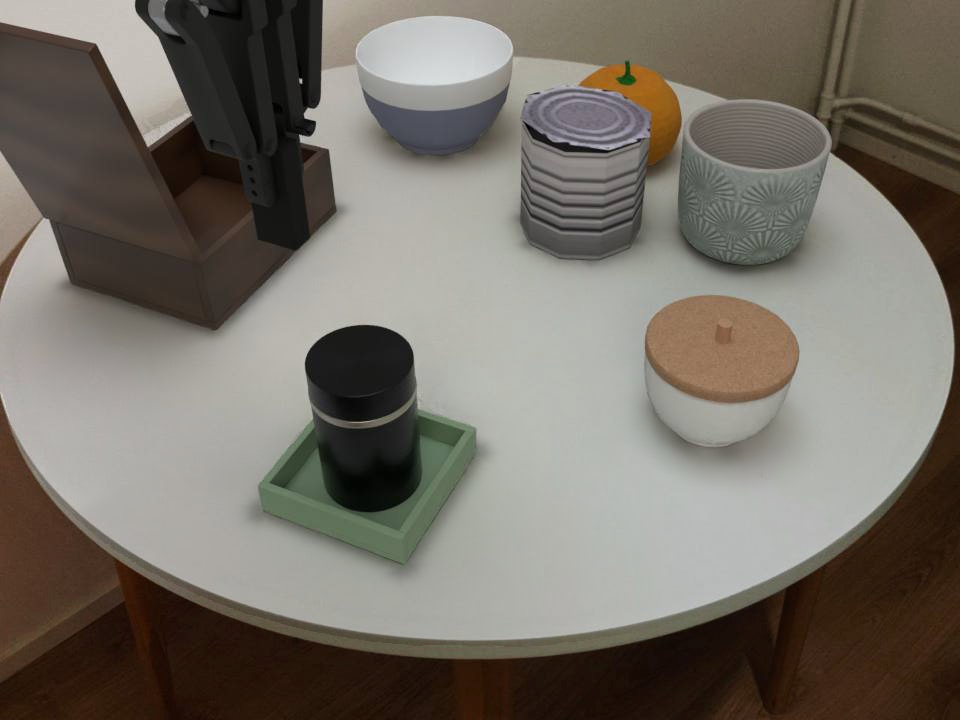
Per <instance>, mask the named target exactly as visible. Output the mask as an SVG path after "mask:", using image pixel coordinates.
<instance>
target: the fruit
mask: <svg viewBox="0 0 960 720" xmlns="http://www.w3.org/2000/svg"><path fill="white" fill-rule="evenodd" d="M577 86H581V87H588V88H595V89H602V90H609V91H616V92H618V93H620V94H622V95H623V96H625V97H627V98H628V99H630V100H631V101H633V102H635V103H636V104H638V105H639V106H641V107H643V108H644V109H646V110H648V111H649V112H651V132H650V142H649V151H648V161H647V167H650V166H652V165H654V164H657V163H658V162H660V161H661V160H662V159H664V158H665V157H666V156H667V155H669V154H670V153H671V151H672V150H673V149H674V147H675V145H676V143H677V141H678V138H679V135H680V134H681V130H682V126H683V125H682V124H683V123H682V121H683V116H682V109H681V106H680V101H679V98H678V96H677V93H675V91H674V89H673V88H672V87H671V86H670V85H669V83H667V81H666V80H665V79H664V78H663V77H662V76H661V75H660V74H658V73H657V72H655V71H654V70H652V69H650V68H647V67H645V66H641V65H635V64H631V63H630V60H625V61H624V64H623V63H621V64H612V65H606V66H603V67H601V68H599V69H597V70H595V71H594V72H592V73H591V74H589V75H587V76H586V77H585V78H584V79H583V80H581V82H580V83H579V84H578V85H577Z"/></svg>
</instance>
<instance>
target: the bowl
mask: <svg viewBox="0 0 960 720" xmlns="http://www.w3.org/2000/svg"><path fill="white" fill-rule="evenodd" d="M513 45H514V44H513V42H512V40H511V39H510V38H509V36H508V35H507V34H506V33H505V32H504V31H502V30H501V29H500V28H497V27H495V26H493V25H491V24H489V23H486V22H483V21H480V20H478V19H477V20H476V19H473V18H467V17H461V16H454V15H453V16H452V15H427V16H417V17H416V16H415V17H410V18H404V19H400V20H396V21H392V22H390V23H387V24H383V25H381V26H379V27H377V28H375V29H372V30H371V31H370V32H368V33H367V34H366V35H364V36H363V37H362V38H361V39H360V41H359V42H358V43H357V45H356V48H355V52H354V53H355V54H354V55H355V57H354V58H355V64H356V70H357V77H358V82H359V84H360V87H361V91H362V94H363V97H364V101H365V103H366V106H367V108H368V109H369V111H370V113H371V114H372V115H373V117H374V119H375V120H376V122H377V123H378V125H379V126H380V127H381V129H383V130H384V132H386V133H387V134H389V135H390V136H392V137H393V138H395V139H396V141H397V143H398V145H400V146H401V147H403V148H404V149H406V150H408V151H410V152H413V153H416V154H420V155H427V156H445V155H451V154H457V153H459V152H462V151H465V150H467V149H469V148H471V147H473V146H474V145H475V144H476V143H477V142H478V141H479V139H480V137H481V136H482V135H483V134H484V133H486V132H487V131H488V130H489V129H490V128H491V127H492V126H493V124H494V123H495V121H496V120H497V118H498V116H499V114H500V113H501V111H502V109H503V107H504V106H505V104H506V103H507V98H508V94H509V88H510V84H511V80H512V76H513V75H512V74H513V64H514V53H515V52H514V51H515V50H514V46H513Z"/></svg>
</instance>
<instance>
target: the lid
mask: <svg viewBox="0 0 960 720" xmlns="http://www.w3.org/2000/svg"><path fill="white" fill-rule="evenodd" d="M143 136H144V135H143V134H142V132H141V130H140V129H139V126H138V125H137V123H136V120H135V118H134V116H133V114H132V112H131V111H130V109H129V107H128V105H127V102H126V100H125V97H124V96H123V94H122V92H121V90H120V88H119V86H118V84H117V82H116V81H115V78H114V76H113V74H112V72H111V69H110V68H109V67H108V64H107V62H106V60H105V58H104V56H103V54H102V52H101V50H100V48H99V46H98V44H97V43H96V42H90V41H86V40H82V39H77V38H73V37H69V36H64V35H60V34H55V33H50V32H46V31H42V30H37V29H32V28H28V27H23V26H19V25H15V24H10V23H6V22H1V21H0V153H1V155H2V156H3V158H4V159H5V161H6V162H7V164H8V166H9V167H10V168H11V170H12V172H13V173H14V174H15V176H16V178H17V179H18V181H19V182H20V184H21V186H22V187H23V188H24V190H25V191H26V193H27V195H28V196H29V198H30V199H31V200H32V203H34V205H35V207H36V208H37V209H38V211H39V213H40V215H41V216H42V217H43V219H46V220H48V221H49V220H52V221H55V222H59V223H62V224H65V225H69V226H72V227H75V228H79V229H82V230H85V231H89V232H92V233H96V234H99V235H102V236H106V237H109V238H112V239H116V240H119V241H122V242H126V243H129V244H132V245H136V246H139V247H143V248H146V249H149V250H153V251H156V252H159V253H163V254H166V255H169V256H173V257H176V258H179V259H183V260H186V261H190V262H193V263H197V262H198V260H199V259H200V258H201V256H202V255H201V253H200V251H199V249H198V247H197V245H196V243H195V241H194V239H193V237H192V235H191V233H190V231H189V229H188V227H187V225H186V223H185V221H184V219H183V217H182V215H181V213H180V211H179V209H178V207H177V205H176V203H175V201H174V199H173V197H172V195H171V193H170V191H169V189H168V187H167V185H166V183H165V181H164V179H163V177H162V175H161V173H160V171H159V169H158V167H157V165H156V163H155V161H154V159H153V157H152V155H151V152H150V150H149V148H148V147H149V145H147V143H146V141H145V138H144V137H143Z"/></svg>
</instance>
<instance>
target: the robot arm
mask: <svg viewBox="0 0 960 720" xmlns="http://www.w3.org/2000/svg"><path fill="white" fill-rule="evenodd" d="M134 9H135V13H136V14H137V16H138V17H139V18H140V19H141V20H142V21H143V23H144V24H145V25H146V26H147V27H148V28H149V29H150V30H151V31H152V32H153V33H154V34H155V36H157V38H158V40H159V42H160V45H161V47H162V50H163V51H164V52H163V53H164V54H165V56H166V59H167V61H168V64H169V66H170V68H171V71H172V72H173V75H174V77H175V80H176V83H177V85H178V88H179V89H180V92H181V94H182V96H183V99H184V102H185V103H186V106H187V108H188V111H189V112H190V116H192V117H193V120H194V122H195V124H196V127H197V129H198V131H199V134H200V136H201V138H202V141H203V143H204V145H205V147H206V149H207V150H208V151H211V152H215V153H218V154H222V155H226V156H229V157H233V158H237V159H238V160H239V165H240V170H241V176H242V179H243V186H244V192H245V196H246V198H247V200H248V201H249V202H251V205H252V210H253V216H254V221H255V227H256V232H257V238H258V240H261V241H264V242H267V243H271V244H274V245H277V246H281V247H284V248H288V249H291V250H294V251H296V252H298V250H300V248H302V246H304V245H305V244H306V243H307V242H308V241H309V240H310V239H311V237H310V230H309V223H308V216H307V209H306V202H305V195H304V188H303V181H302V178H303V173H304V165H303V160H302V159H303V158H302V154H301V153H302V151H301V144H300V142H301V137H300V136H303V137H306V138H307V137H308V138H310V137H312V136H313V135H314V133H315V131H316V128H317V120H313V119H310V118H306V117H305V113H306V112H307V110H308V109H311V110H316V108H318V106H319V105H320V103H321V98H322V66H323V65H322V63H323V62H322V61H323V20H324V19H323V16H324V0H134Z"/></svg>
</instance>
